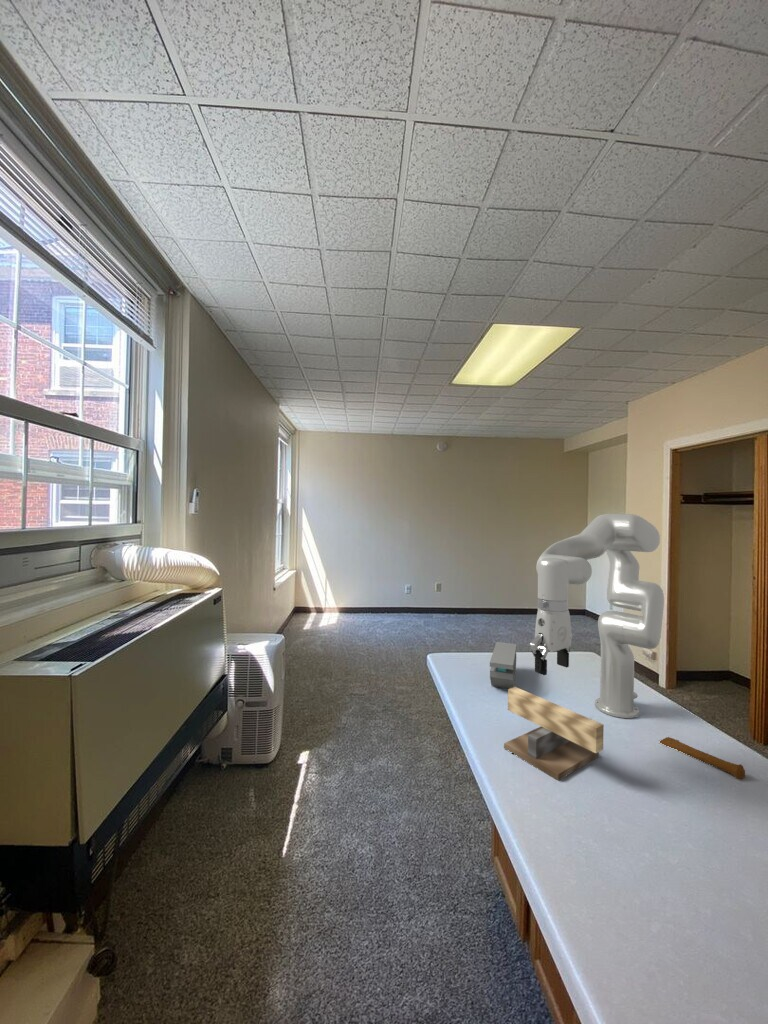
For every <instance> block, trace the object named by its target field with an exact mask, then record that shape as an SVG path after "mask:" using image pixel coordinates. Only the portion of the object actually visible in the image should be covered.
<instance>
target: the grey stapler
mask: <svg viewBox="0 0 768 1024" xmlns="http://www.w3.org/2000/svg"><path fill="white" fill-rule="evenodd" d="M516 652H517V644H516V643H512V642H511V643H509V642H502V641H496V642H495V645H494V649H493V652H492V654H491V658H490V661H489V667H490V669H489V679H490V684H491V687H496V688H502V689H503V688H504V689H510V688H513V687H515V684H516V683H515V682H516V674H517V653H516Z"/></svg>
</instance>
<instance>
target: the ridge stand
mask: <svg viewBox="0 0 768 1024" xmlns="http://www.w3.org/2000/svg"><path fill="white" fill-rule="evenodd" d="M503 748H505V749H506V751H507V750H509V751H510V752H512V753H514V754H515V755H517V756H518V757H517V756H516V757H517V758H519V757H520V758H522V759H523V760H522V759H521V760H522V761H524V760H525V761H524V762H526V761H527V762H528V763H527V762H526V763H527V764H528V765H531V766H532V765H533V766H532V767H534V768H536V769H537V768H538V769H537V770H539V771H541V772H543V773H544V774H546V775H548V776H549V777H551V778H553V779H555V780H556V781H560V780H561V778H562V779H563V778H565V777H567V776H568V775H571V774H572V773H573V772H575V771H577V770H578V769H580V768H582V767H583V766H585V765H586V764H588V763H591V762H592V761H593V760H595V759H597V758H598V757H599V756H600V751H599V752H598V753H594V752H592V751H590V750H588V749H586V748H584V747H582V746H580V745H578V744H576V743H574V742H572V741H570V740H568V739H566V738H564V737H562V736H560V735H557V734H555V733H553V732H551V731H549V730H547V729H545V728H543V727H541V726H539V727H537V728H535V729H532V730H530V731H528V732H525V733H523V734H522V735H519V736H517V737H515V738H513V739H510V740H508V741H506V742H504V743H503ZM505 749H504V750H505ZM509 751H508V752H509ZM510 752H509V753H510ZM512 753H511V754H512ZM514 754H513V755H514ZM515 755H514V756H515ZM520 758H519V759H520ZM566 775H567V776H566Z"/></svg>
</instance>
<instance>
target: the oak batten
mask: <svg viewBox="0 0 768 1024" xmlns="http://www.w3.org/2000/svg"><path fill="white" fill-rule="evenodd" d="M507 710H508V711H509V712H511V713H512V714H516V715H517V716H519V717H521V718H523V719H525V720H527V721H530V722H532V723H533V724H535V725H537V726H539V727H543V728H545V729H547V730H549V731H551V732H553V733H555V734H557V735H560V736H562V737H564V738H566V739H568V740H570V741H572V742H574V743H576V744H578V745H580V746H582V747H584V748H586V749H588V750H590V751H592V752H594V753H598V752H599V753H600V752H601V751H603V750H604V730H605V729H604V724H603V723H601V722H599V721H596V720H594V719H592V718H589V717H588V716H585V715H582V714H579V713H577V712H576V711H573V710H570V709H568V708H565V707H563V706H561V705H559V704H556V703H554V702H551V701H549V700H547V699H545V698H543V697H540V696H539V695H538V696H537V695H535V694H534V693H531V692H528V691H527V690H524V689H522V688H519V687H517V686H514V687H513V688H510V689H509V688H507Z"/></svg>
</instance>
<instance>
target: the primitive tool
mask: <svg viewBox="0 0 768 1024" xmlns="http://www.w3.org/2000/svg"><path fill="white" fill-rule="evenodd" d="M660 740H661V741H660ZM660 740H659V741H660V743H662V744H664V745H666V746H665V747H667V746H669V747H671V748H674V749H677V750H678V751H677V752H679V751H681V752H683V753H685V754H684V755H686V754H687V755H686V756H688V755H690V756H689V757H691V756H692V757H691V758H693V757H694V758H693V759H695V758H696V759H695V760H697V759H699V760H698V761H700V760H701V762H702V761H703V762H702V763H704V762H705V763H704V764H706V763H708V764H707V765H709V764H710V765H709V766H711V765H713V766H712V767H714V766H715V768H716V767H717V768H716V769H718V768H719V770H721V771H723V772H725V773H729V774H730V775H731V776H733V777H734V776H735V777H736V778H735V777H734V778H735V779H737V780H739V779H740V780H743V779H744V778H746V770H745V767H744V766H743V764H739V763H738V764H736V763H733V762H730V761H727V760H724V759H722V758H719V757H718V756H715V755H712V754H709V753H708V752H707V753H706V752H704V751H701V750H700V749H696V748H694V747H692V746H689V745H687V744H686V743H683V742H682V741H680V740H678V739H675V738H672V737H669V736H668V737H665V738H663V740H662V739H660ZM660 743H659V744H660ZM662 744H661V745H662ZM664 745H663V746H664ZM669 747H668V748H669ZM671 748H670V749H671ZM674 749H673V750H674ZM681 752H680V753H681ZM683 753H682V754H683Z"/></svg>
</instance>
